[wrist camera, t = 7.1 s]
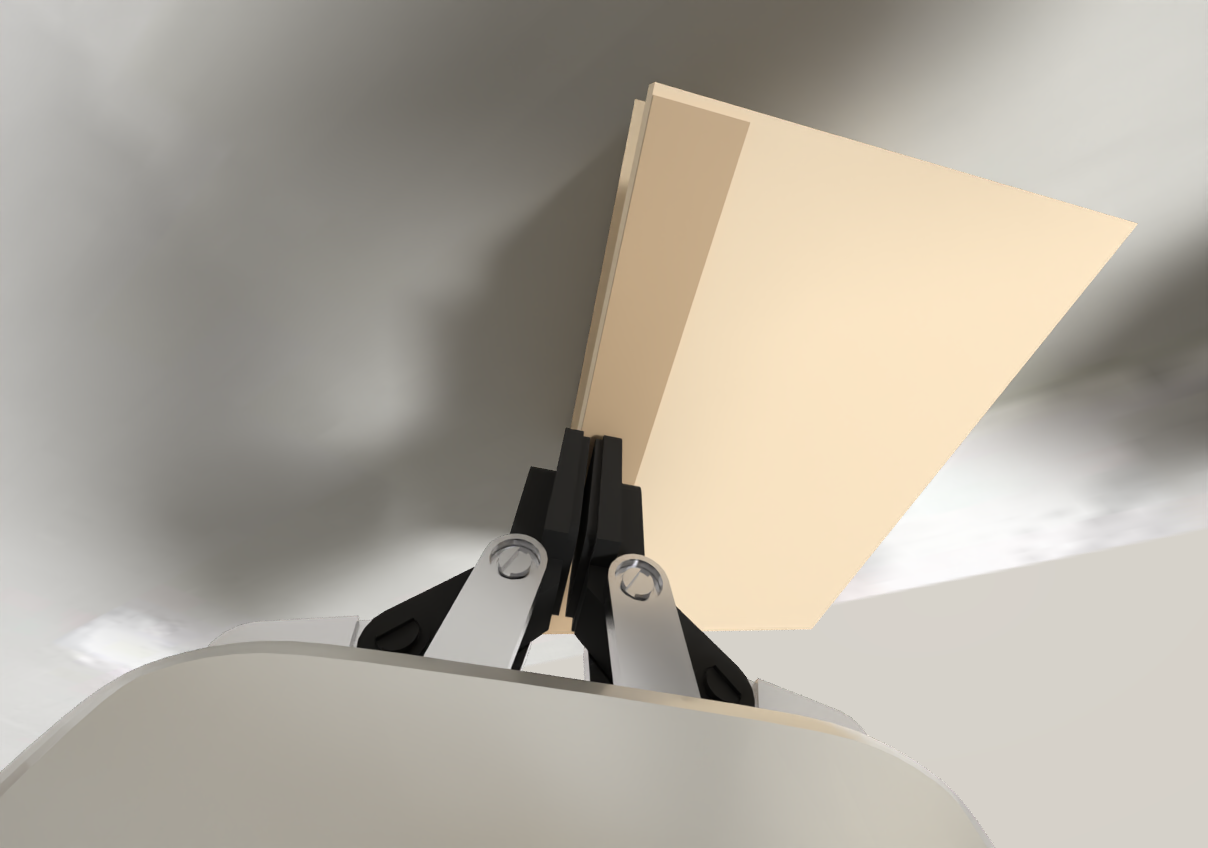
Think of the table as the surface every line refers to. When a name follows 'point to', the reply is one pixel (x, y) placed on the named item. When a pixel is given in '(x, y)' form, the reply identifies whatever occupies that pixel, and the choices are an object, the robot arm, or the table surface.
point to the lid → (807, 344)
